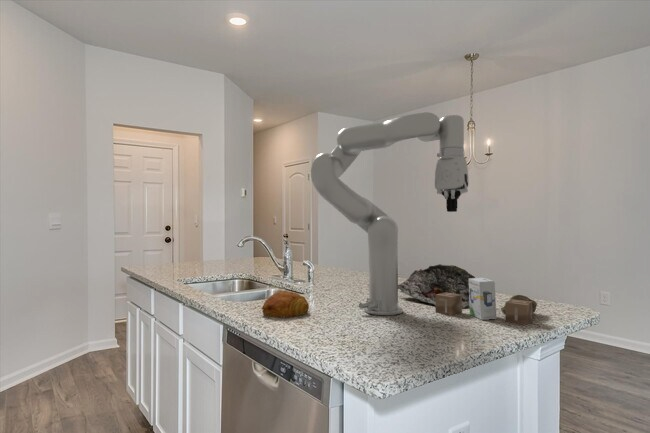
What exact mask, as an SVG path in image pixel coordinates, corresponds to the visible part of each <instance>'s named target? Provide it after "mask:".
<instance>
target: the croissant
mask: <svg viewBox="0 0 650 433" xmlns="http://www.w3.org/2000/svg"><path fill="white" fill-rule="evenodd" d="M309 308H310V304H309V303H308V301H307V299H306V297H305V296H303V295H300V294H299V293H297V292H292V291H277V292H275V293H273V294H271V295H270V296H269V297H268V298H267V299H266V300H265V302H263V305H262V307H261V312H262V314H263V315H265V316H267V317H274V318H294V317H299V316H303V315H306V314H307V313H308V312H309Z"/></svg>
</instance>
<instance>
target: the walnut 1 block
mask: <svg viewBox="0 0 650 433" xmlns="http://www.w3.org/2000/svg"><path fill="white" fill-rule="evenodd" d="M510 299H511V298H510ZM510 299H509V300H507V301H505V302H504V303H505V304H504V306H505V314H504V316H505V317H504V318H505V320H504V321H505V323H507V322H509V323H508V324H513V323H515V325H519V326H520V325H522V326H529V325H530V324H531V323H532V322H533V314H532V302H531V301H522V300H513V299H511V300H510Z"/></svg>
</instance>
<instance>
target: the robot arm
mask: <svg viewBox="0 0 650 433" xmlns="http://www.w3.org/2000/svg"><path fill="white" fill-rule="evenodd" d="M464 121H465V120H464V117H462V115H458V114H450V115H449V114H448V115H445V116H443V117H441V118H439V117H438V115H436V114H435V113H432V112H418V113H413V114H405V115H402V116H397V117H394V118H392V119H387V120H385V121H380V122H375V123H374V122H373V123H367V124H363V125H361V124H360V125H354V126H348V127H347V126H346V127H345V128H342V129H340V131H339V132H338V133H337V137H336V143H337V145H336V146H335V147H334V148H333V149H332V151H331V152H329V153H328V152H322V153H319V154H317V155H316V156H315V157H314V159H313V161H312V164H311V169H310V177H311V182H312V184H313V186H314V189H315V190H316V192H317V193H318V194H319V195H320V196H321V197H322V198H323V199H324V200H325V201H326V202H327V203H329V204H330V205H331V206H332V207H333V208H334V209H336V210H337V212H339V214H340V213H341V214H342V215H343V216H344V217H345V218H346V219H347V221H349V222H350V223H351V224H355V225H356V226H358V227H359V228H361V230H363V231H364V232H366V233H367V242H368V282H369V283H368V297H367V298H366V301H363V302H359V304H358V308H359V309H361V310H362V309H364V310H363V311H364V312H365V313H367V314H370V315H375V316H376V315H377V316H395V315H400V314H402V313H403V310H404V309H403V307H402V306H400V305H399V289H398V285H399V276H398V275H399V267H398V266H399V262H398V257H399V256H398V254H399V252H398V251H399V250H398V249H399V248H398V244H399V242H398V240H399V239H398V238H399V234H398V233H399V226H398V223H397V222H396V221H395V219H393V218H392V217H391V216H390V215H388V214H387V213H386V212H384V211H383V210H382V209H380V208H379V207H378V206H377V205H376V204H374V203H373V202H372V201H370V200H369V199H368V198H366V197H364V196H361V195H360V194H358V193H357V192H356V191H354V190H353V189H352V188H351V187H350V186H348V185H347V184H346V183H344V182H343V181H342V180H341V179H340V177H341V176H342V175H344V173H345V172H346V171H347V170H348V169H349V168H350V166H351V165H352V164H353V162H354V161H355V160H356V159H357V158H358V156H360V154H361V152H364V151H372V150H378V149H384V148H385V149H386V148H388V147H391V146H393V145H394V144H396V143H398V142H401V141H405V140H409V139H414V138H417V139H418V140H420V141H421V142H427V143H428V142H434V141H439V152H438V153H437V154H436V158H439V159H437V160H436V165H435V171H434V189H435V190H436V193H437V195H441V196H443V197H444V199H445V200H446V202H445V203H446V207H445V208H446V212H449V213H450V212H451V213H452V212H456V213H457V211H458V200H459V199H460V197H461V195H462V194H465V193H468V187H469V170H468V163H467V159H466V157H465V142H464V141H465V137H464V136H465V132H464V131H465V130H464V129H465V127H464V126H465V125H464V123H465V122H464Z"/></svg>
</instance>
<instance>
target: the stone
mask: <svg viewBox="0 0 650 433" xmlns="http://www.w3.org/2000/svg"><path fill="white" fill-rule="evenodd" d="M511 299H513V300H522V301H531V302H532V315H533V314H534V313H535V312H536V309H537V306H538V302H536V300H533V299H531V298H529V297H528V296H525V295H521V294H517V295H513V296H511V297H510V298H509V300H511ZM500 309H501V310H500V311H501V312H502V313H503V314H504V315H505V305H503V307H500Z"/></svg>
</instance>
